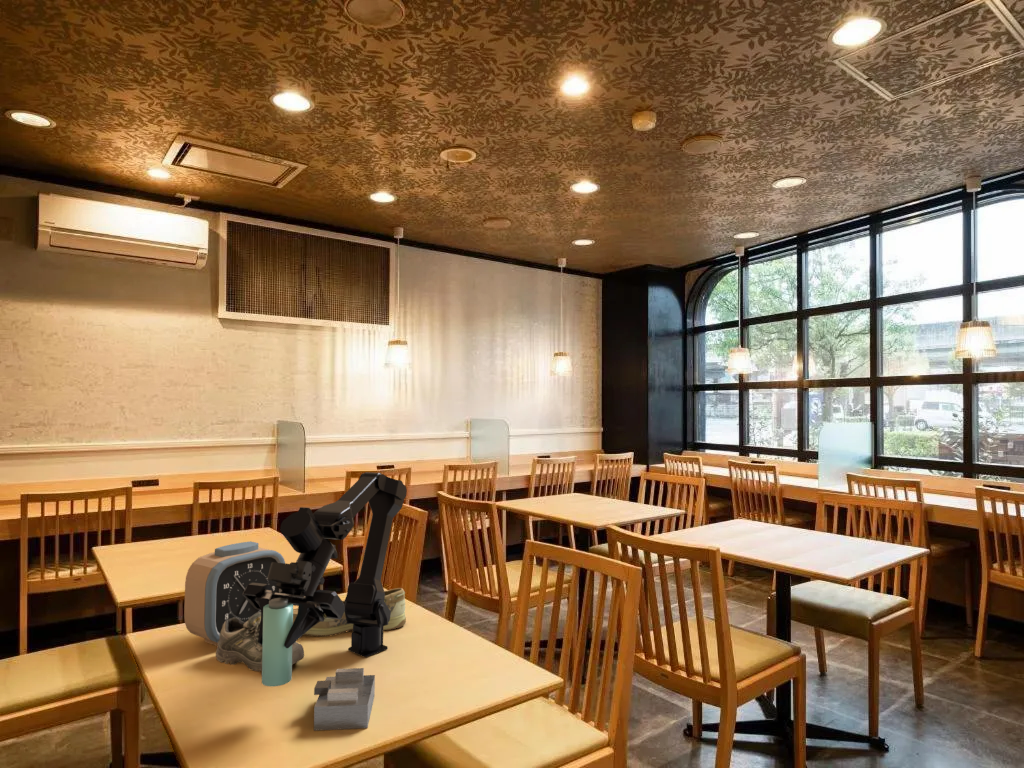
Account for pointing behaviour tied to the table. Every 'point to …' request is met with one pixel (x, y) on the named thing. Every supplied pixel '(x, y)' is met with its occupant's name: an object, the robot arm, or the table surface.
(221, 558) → the alarm clock
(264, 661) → the bottle
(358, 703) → the block
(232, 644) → the hiking shoe
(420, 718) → the table surface
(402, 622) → the boat shoe
